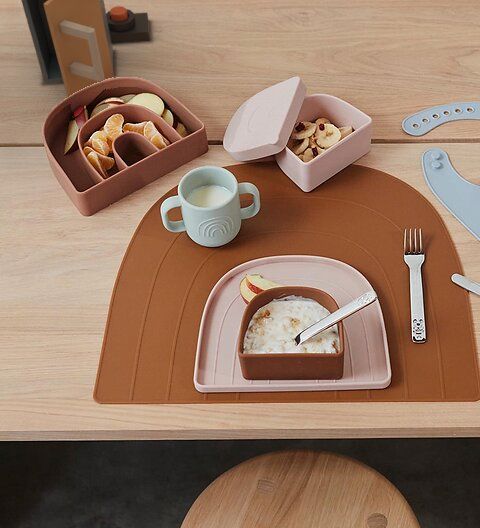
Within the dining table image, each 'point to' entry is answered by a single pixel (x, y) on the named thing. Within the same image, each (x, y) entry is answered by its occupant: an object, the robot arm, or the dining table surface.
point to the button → (118, 14)
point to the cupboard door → (79, 42)
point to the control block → (129, 28)
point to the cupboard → (43, 38)
